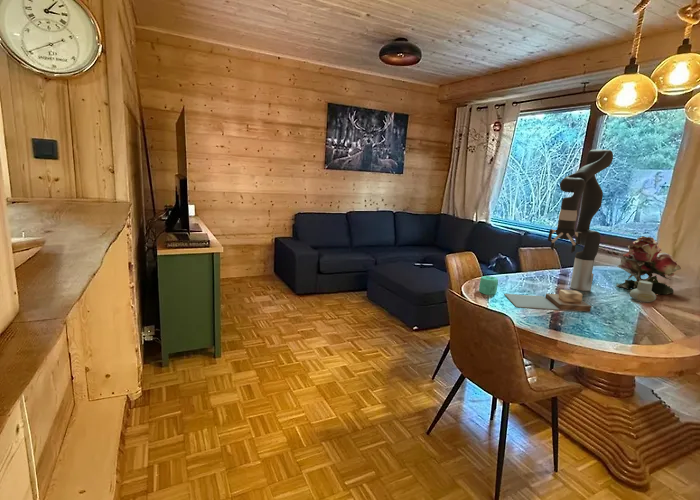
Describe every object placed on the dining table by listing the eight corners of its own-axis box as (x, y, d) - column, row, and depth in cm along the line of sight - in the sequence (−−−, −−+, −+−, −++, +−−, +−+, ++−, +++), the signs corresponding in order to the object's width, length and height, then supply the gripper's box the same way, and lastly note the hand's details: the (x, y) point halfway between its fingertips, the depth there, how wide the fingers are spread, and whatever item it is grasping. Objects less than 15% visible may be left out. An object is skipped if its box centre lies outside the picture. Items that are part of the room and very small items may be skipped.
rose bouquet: (681, 293, 218) (693, 241, 212) (642, 296, 210) (653, 241, 203) (636, 280, 242) (646, 232, 236) (600, 282, 234) (609, 233, 227)
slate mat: (543, 297, 201) (543, 296, 201) (559, 310, 183) (560, 309, 183) (504, 294, 203) (504, 293, 202) (516, 307, 184) (516, 306, 184)
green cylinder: (478, 293, 203) (480, 278, 201) (481, 289, 210) (482, 275, 208) (494, 296, 199) (496, 281, 198) (496, 292, 206) (498, 277, 205)
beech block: (575, 298, 193) (576, 290, 193) (581, 302, 188) (582, 294, 187) (558, 297, 194) (559, 289, 193) (563, 301, 188) (565, 293, 187)
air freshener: (631, 301, 201) (635, 282, 199) (627, 296, 208) (630, 278, 206) (657, 304, 197) (661, 285, 195) (651, 300, 205) (655, 281, 203)
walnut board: (573, 300, 199) (574, 295, 198) (590, 311, 183) (591, 306, 183) (545, 298, 200) (546, 293, 199) (559, 309, 184) (559, 304, 184)
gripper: (584, 219, 192) (578, 252, 196) (552, 216, 200) (547, 248, 203) (583, 221, 186) (578, 254, 190) (550, 218, 194) (545, 250, 197)
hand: (562, 251), depth 196 cm, fingers open, 8 cm apart
